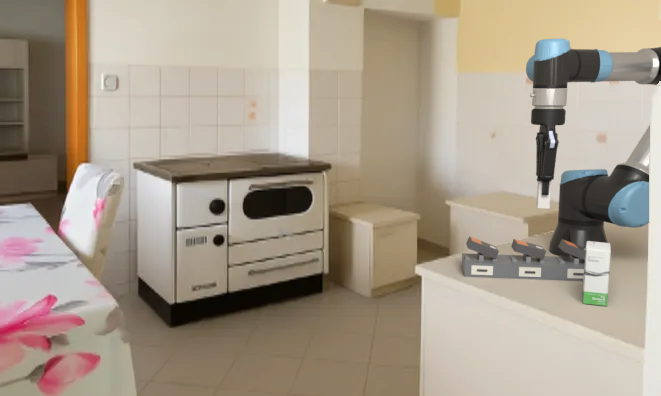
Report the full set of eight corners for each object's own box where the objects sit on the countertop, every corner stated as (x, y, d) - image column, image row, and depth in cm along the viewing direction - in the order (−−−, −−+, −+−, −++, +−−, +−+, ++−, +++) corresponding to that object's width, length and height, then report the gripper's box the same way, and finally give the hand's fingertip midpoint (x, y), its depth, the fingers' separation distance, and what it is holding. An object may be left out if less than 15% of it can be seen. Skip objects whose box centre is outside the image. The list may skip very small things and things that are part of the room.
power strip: (585, 270, 155) (586, 252, 154) (596, 281, 146) (597, 262, 145) (461, 266, 159) (462, 248, 158) (464, 276, 150) (465, 257, 149)
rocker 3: (585, 257, 152) (589, 249, 152) (591, 262, 148) (595, 254, 147) (558, 246, 153) (561, 238, 152) (563, 251, 148) (566, 243, 148)
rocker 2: (539, 253, 154) (542, 245, 153) (543, 259, 149) (546, 250, 148) (511, 246, 154) (513, 238, 154) (514, 251, 149) (517, 243, 149)
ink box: (607, 307, 129) (612, 251, 127) (581, 304, 130) (585, 248, 129) (606, 294, 136) (610, 241, 135) (582, 292, 138) (585, 239, 136)
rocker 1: (492, 253, 155) (496, 246, 155) (495, 259, 150) (499, 251, 150) (466, 243, 156) (469, 235, 155) (467, 248, 151) (471, 240, 150)
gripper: (526, 107, 152) (521, 202, 156) (537, 108, 140) (531, 212, 144) (558, 107, 152) (553, 203, 155) (572, 108, 139) (565, 213, 143)
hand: (542, 207), depth 149 cm, fingers closed
